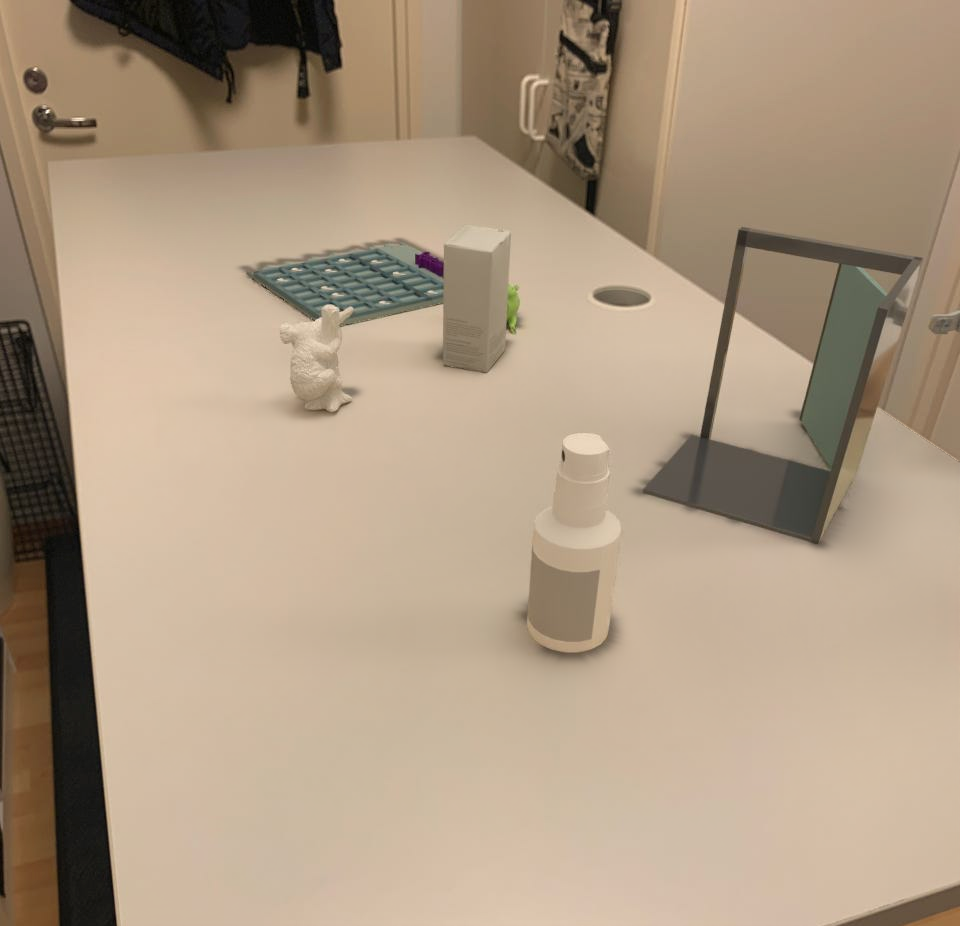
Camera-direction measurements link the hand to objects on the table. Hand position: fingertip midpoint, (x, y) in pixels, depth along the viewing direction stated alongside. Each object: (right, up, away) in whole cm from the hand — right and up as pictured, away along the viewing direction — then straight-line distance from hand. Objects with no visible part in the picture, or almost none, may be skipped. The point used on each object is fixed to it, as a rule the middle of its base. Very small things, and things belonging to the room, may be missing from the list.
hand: (947, 339), depth 103 cm
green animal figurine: (-49, +12, +31) cm, 59 cm away
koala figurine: (-70, -5, +10) cm, 71 cm away
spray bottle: (-44, -33, -23) cm, 60 cm away
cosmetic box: (-52, +4, +21) cm, 56 cm away
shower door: (-10, -11, +3) cm, 16 cm away
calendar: (-69, +22, +43) cm, 84 cm away
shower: (-23, -17, -4) cm, 29 cm away
